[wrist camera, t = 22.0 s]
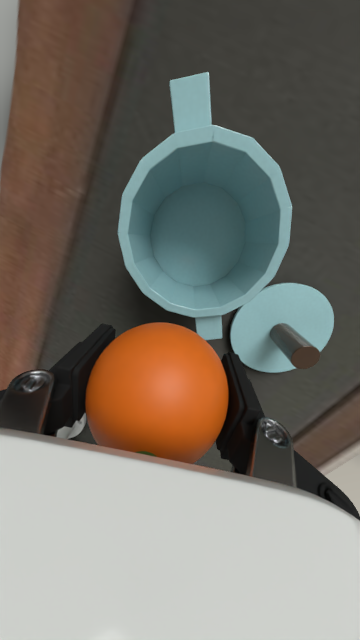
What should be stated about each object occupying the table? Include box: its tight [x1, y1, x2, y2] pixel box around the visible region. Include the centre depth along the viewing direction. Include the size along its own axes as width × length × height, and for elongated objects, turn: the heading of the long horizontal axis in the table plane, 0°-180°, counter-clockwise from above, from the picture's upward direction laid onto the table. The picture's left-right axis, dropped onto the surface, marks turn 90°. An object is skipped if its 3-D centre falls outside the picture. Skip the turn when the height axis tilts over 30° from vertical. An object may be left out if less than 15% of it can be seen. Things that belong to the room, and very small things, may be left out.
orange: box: [85, 322, 229, 464], centre depth 8 cm, size 6×6×8 cm
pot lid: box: [230, 283, 334, 373], centre depth 23 cm, size 14×14×7 cm
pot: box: [118, 72, 292, 340], centre depth 18 cm, size 13×18×10 cm
